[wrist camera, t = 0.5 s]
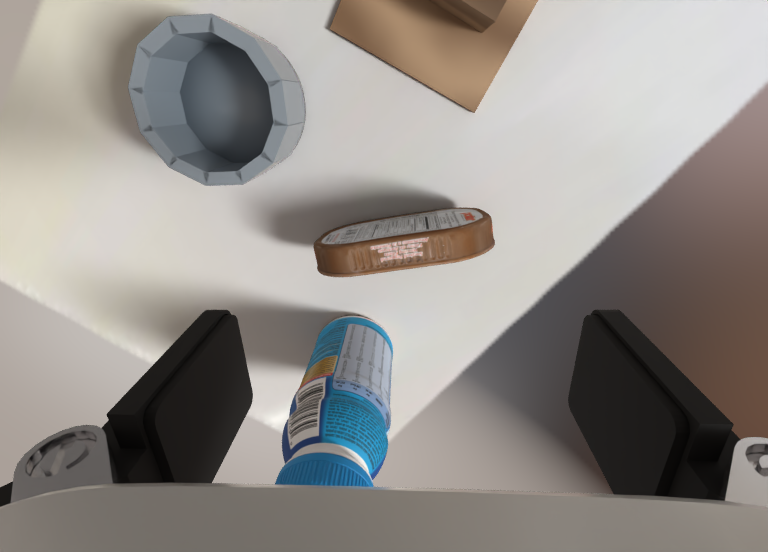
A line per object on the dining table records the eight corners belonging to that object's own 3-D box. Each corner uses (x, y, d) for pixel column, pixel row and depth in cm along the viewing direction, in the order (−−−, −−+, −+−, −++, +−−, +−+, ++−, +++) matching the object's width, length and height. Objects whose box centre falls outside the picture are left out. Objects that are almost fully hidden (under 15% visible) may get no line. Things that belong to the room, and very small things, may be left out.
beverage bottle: (398, 316, 41) (391, 490, 23) (390, 382, 45) (377, 578, 26) (317, 307, 41) (246, 473, 23) (315, 373, 45) (251, 562, 26)
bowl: (196, 0, 31) (151, -21, 25) (326, 74, 32) (310, 69, 27) (161, 134, 35) (116, 141, 29) (277, 193, 37) (254, 210, 31)
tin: (328, 252, 39) (308, 290, 31) (320, 221, 38) (298, 253, 30) (485, 229, 37) (505, 263, 29) (482, 195, 36) (503, 222, 28)
